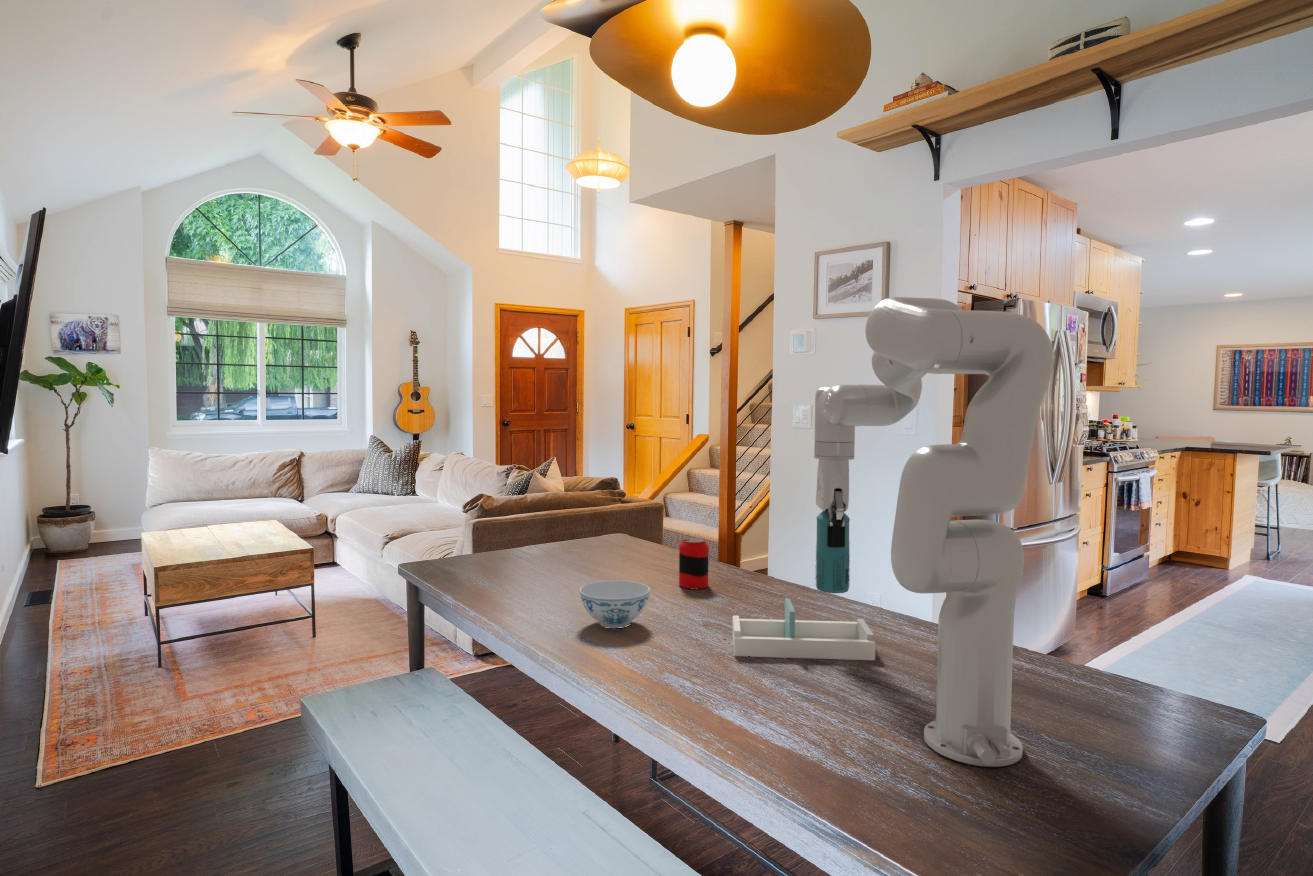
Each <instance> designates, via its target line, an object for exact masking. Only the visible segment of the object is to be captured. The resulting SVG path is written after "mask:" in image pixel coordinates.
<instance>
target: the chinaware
mask: <svg viewBox="0 0 1313 876" xmlns="http://www.w3.org/2000/svg"><path fill="white" fill-rule="evenodd" d="M650 593H651V588H650V587H649V586H648V585H647V584H644V583H641V582H638V581H632V580H603V581H602V580H601V581H596V582H595V581H594V582H591V583H587V584H585V585H583V586H581V587H580V588H579V595H580V598H581V602H582V605H583V606H584V609H585V611H586V612H587V613H588V614H589V615H590V616H591V617H592V618H593V619H594V620H596V621H597V622H598V624H600V625H602V626H603V627H609V628H618V627H625V626H627V625H629V624H630V623H631V622H632V621H634V620H635V619H636V618H637V617H639V615H641V613H642V612H643V611H644V609H645V608H646V606H647V603H648V600H649V598H650ZM600 625H599V626H600ZM630 625H631V624H630ZM603 627H602V628H603Z"/></svg>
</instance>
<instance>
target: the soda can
mask: <svg viewBox="0 0 1313 876" xmlns="http://www.w3.org/2000/svg"><path fill="white" fill-rule="evenodd" d="M678 546H679V547H678V548H679V550H678V552H679V553H678V555H679V556H678V562H679V563H678V568H679V569H678V571H679V572H678V573H679V574H678V575H679V576H678V585H679V586H680V587H681V586H682V587H685V588H703V589H705V588H704V587H706V588H707V587H708V586H709V544H708V543H707V541H706V540H705V539H704V538H695V537H691V538H684V539H682V541H681V543H680V544H679V545H678ZM682 587H681V588H682ZM685 588H684V589H685Z"/></svg>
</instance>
